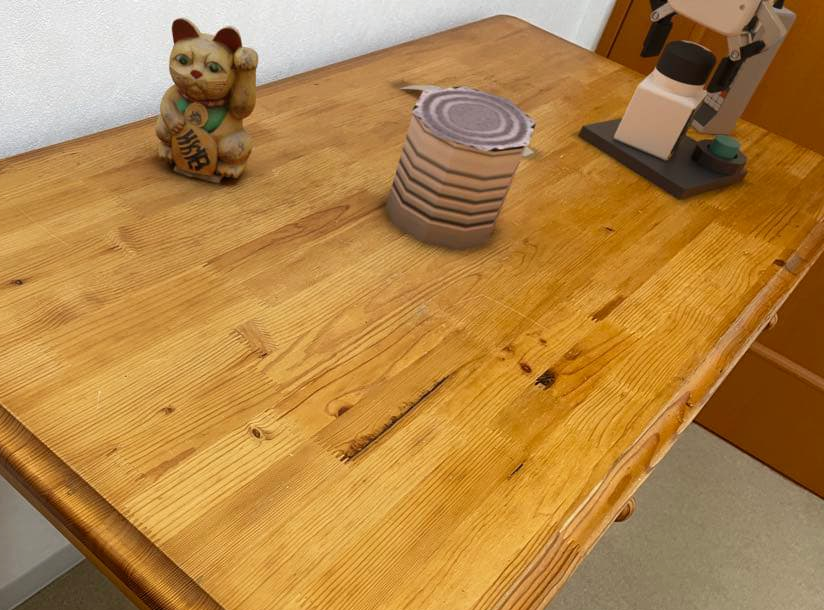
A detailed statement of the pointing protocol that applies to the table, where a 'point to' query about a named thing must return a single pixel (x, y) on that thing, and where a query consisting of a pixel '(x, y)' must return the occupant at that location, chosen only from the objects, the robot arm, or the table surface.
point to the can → (457, 166)
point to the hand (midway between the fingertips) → (681, 73)
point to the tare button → (724, 146)
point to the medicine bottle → (667, 100)
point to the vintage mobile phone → (740, 84)
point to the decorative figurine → (207, 103)
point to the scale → (670, 162)
